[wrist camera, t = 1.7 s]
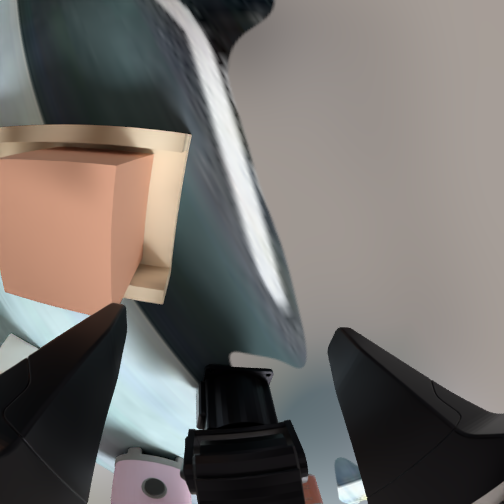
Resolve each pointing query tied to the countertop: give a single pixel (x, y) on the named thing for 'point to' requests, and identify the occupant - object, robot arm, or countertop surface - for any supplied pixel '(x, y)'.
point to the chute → (159, 196)
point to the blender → (148, 480)
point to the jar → (14, 352)
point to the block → (72, 224)
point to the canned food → (311, 491)
